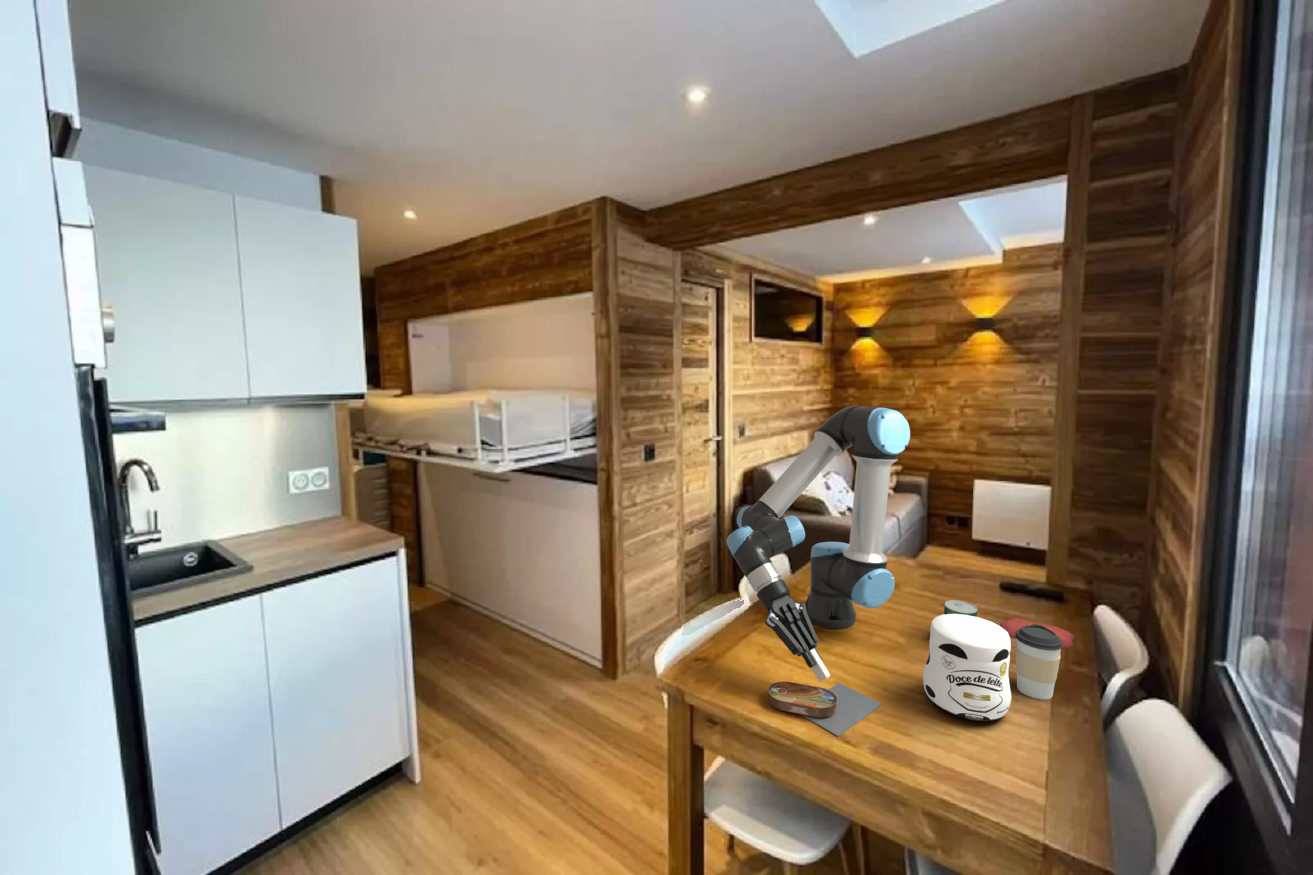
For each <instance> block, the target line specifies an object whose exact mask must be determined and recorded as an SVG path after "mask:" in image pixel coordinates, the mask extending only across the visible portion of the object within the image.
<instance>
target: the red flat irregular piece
mask: <svg viewBox="0 0 1313 875" xmlns="http://www.w3.org/2000/svg"><path fill="white" fill-rule="evenodd" d="M1032 624H1037V625H1042V626H1044V627H1046V628H1047V629H1049V630H1051V631H1053V632H1055V633H1056V634H1057V636H1058V637H1059V638H1060V639H1061V640H1062V645H1063V647H1062V648H1061V649H1070V648H1072V647H1073V646H1074V643H1073V640H1075V635H1074V634H1073V633H1071V632H1070V631H1069V630H1066V629H1063V628H1061V627H1058V626H1056V625H1050V624H1046V623H1043V622H1037V621H1036V622H1034V621H1029V620H1026V619H1023V618H1020V617H1010V618H1008V619H1007V620H1005V621H1003V622H1001V623H1000V625H999V626H1000V627H1002V628H1003V629H1004V630H1005V631H1007V632H1008V635H1009V637H1010V639H1016V637H1015V635H1016V631H1017V630H1018V629H1021V628H1022V627H1023V626H1028V625H1032Z"/></svg>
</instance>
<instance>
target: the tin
mask: <svg viewBox="0 0 1313 875" xmlns="http://www.w3.org/2000/svg"><path fill="white" fill-rule="evenodd" d="M767 690H768V702H769V703H770V705H771V706H772V707H774V708H775V709H777V710H779V711H782V712H786V713H792V714H796V715H800V714H801V715H800V716H802V715H806V716H811V717H816V718H825V717H829V716H832V715H833V714H834V713H835V711H836V707H837V706H836V702H837V697H836V696H835V694H834V693H833V692H831V691H830V690H828V689H827V688H824V687H820V686H815V685H814V686H813V685H810V684H809V685H808V684H804V683H803V684H802V683H797V682H791V681H777V682H775V683H772V684H770V685H769V687H768V689H767Z"/></svg>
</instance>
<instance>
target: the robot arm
mask: <svg viewBox="0 0 1313 875" xmlns="http://www.w3.org/2000/svg"><path fill="white" fill-rule="evenodd" d="M909 425H910V424H909V422H908V420H907V419H906V418H905V417H904V415H903V414H902V413H901V412H899V411H897V410H895V409H891V408H887V407H877V406H876V407H873V406H863V405H851V406H847V407H844V408H842V409H841V410H839V411H837V412H836V413H835V414H833V415H832V416H830V417H829V418H828V419H827V420H826V421H825V422H824V423H822V424H821V426H819V428H817V430H816V431H815V432H814V433H813V437H814V438H813V440H812V441H811V442H810V443H809V444H808V445H807V446H806V447H805V448H804V449H803V451H802V452H801V453H800V454H799V455H798V456H797V457H796V458H795V460H794V461H793V462H792V463H791V464H790V465H789V466H788V467H787V468H786V469H785V470H784V471H783V473H781V475H780V476H779V477H778V478H777V479H776V481H774V483H773V484H772V485H771V486H769V488H768V489H767V490H766V491H765V492H764V493H763V494H762V496H761V497H760V498H759V499H758V500H757V501H756V502H755V503H754V504H753V506H752V505H746V506H743V507H742V508H741V509H740V510H739V511H738V513H737V516H736V524H737V527H739V528H736V530H733V531H732V532H731V533H730V534H729V535H728V537H727V538H726V544H727V546H728V549H729V551H730V553H731V555H732V557H733V558H734V559H735V561H736V563H737V565H738V566H739V567H740V569H741V571H742V572H743V574H744V575H745V578H746V579H747V581H748V584H749V585H750V587H751V588H752V589H753V591H754V592H756V597H757V598H758V600H759V602H760V604H761V605H762V607H763V608H766V609H767V610H766V611H767V614H768V618H767V619H766V620H765V621H764V624H765V625H766V626H768V627H769V628H770V629H772V631H773V632H774V633H775V635H776V636H777V637H778V638H779V639H780V640H781V641H782V643H783V644H784V645H785V646H786V647H787V649H788V650H789V651H790V653H791V654H792V655H794V656H796V655H797V657H801V656H802V658H803V660H804V661H805V663H806V665H807V667H809V669H811V671H812V672H813V673H814V675H815V677H816V679H817V681H818V682H819V683H820V682H823V681H824V680H825V679H827V678H830V677H831V674H830V671H829V670H828V668H827V667H826V665H825V663H824V660H823V657H822V656H821V654H820V653H819V651H818V649H817V647H818V643H819V642H820V640H819V637H818V636H817V633H816V631H815V629H814V626H813V625H815V626H818V627H820V628H826V629H835V630H837V629H846V628H847V629H848V628H850V627H852V626H854V625H855V624H856V623H857V613H856V612H857V611H856V610H855V607H854V604H856V605H860V606H861V607H864V608H867V609H876V608H879V607H881V606H883V605H884V604H885V603H886V602H887V601H888V600H889V599H890V598H891V597H892V595H893V592H894V590H895V584H896V583H895V582H896V581H895V577H894V576H893V574H892V572H891V571H889V570H888V557H887V556H886V554H885V553H884V552H883V549H884V548H883V546H884V538H885V527H886V518H887V517H886V516H887V509H888V508H887V507H888V497H889V487H890V480H891V479H890V478H891V477H890V476H891V467H892V465H893V464H894V463H896V462H897V461H898V460H899V454H900V453H902V452H904V451H905V449H906V447H907V446H908V445H909V442H910V440H911V430H910V429H911V428H910V426H909ZM851 447H852V448H851ZM849 448H851V449H852V451H851V457H852V458H853V459H854V460H855V461H856V468H855V469H856V470H855V482H854V490H853V492H854V493H853V500H852V501H853V502H852V514H851V523H850V534H849V543H846V542H841V541H825V542H818V543H815V544H813V546H812V547H811V552H810V577H809V578H810V579H809V580H810V588H809V593H808V596H807V598H806V600H805V603H804V602H802V603H798V602H797V603H796V601H795V599H793V598H792V596H791V595H790V593H791V591H790V588H789V587H788V585H787V584H786V582H785V581H784V579H782V578H781V577H782V576H781V574H780V572H779V571H778V569H777V567H776V566H775V564H774V563H773V561H772V560H771V558H773V557H774V556H777V555H779V554H781V553H783V552H786V551H788V550H790V549H793V548H795V546H797V545H799V544H800V543H802V542H804V540H805V539H806V531H805V528H804V525H803V524H802V522H801V520H799V518H798V517H797V516H794V515H788V516H783V515H784V513H785V512H787V510H788V509H789V508H790V507H791V505H792V504H793V503H794V502H796V500H797V499H798V498H799V497H800V495H801V494H802V493H803V492H804V491H805V490H806V489H807V488H808V487H809V485H811V483H812V482H813V481H814V480H815V478H817V477H818V476H819V474H820V473H821V472H822V471H824V469H825V467H826V466H828V464H829V463H830V462H831V461H832V460H833V458H834V459H835V457H837V456H838V457H839V456H841V455H843V453H845V451H846V450H848V449H849ZM782 516H783V518H781V517H782ZM780 518H781V519H780Z"/></svg>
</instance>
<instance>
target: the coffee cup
mask: <svg viewBox="0 0 1313 875" xmlns="http://www.w3.org/2000/svg"><path fill="white" fill-rule="evenodd" d="M1015 637H1016V644H1015V671H1016V688H1017V690H1018V691H1019V692H1020V693H1022V694H1024V695H1026V696H1027V697H1030V698H1033V699H1036V700H1050V699H1052V698H1053V695H1054V690H1055V684H1056V681H1057V678H1058V673H1059V666H1060V662H1061V651H1062V649H1063V648H1062V647H1063V645H1062V640H1061V639H1060V638H1059V637H1058V636H1057V634H1056V633H1055V632H1053V631H1051V630H1049V629H1047V628H1046V627H1044V626H1042V625H1037V624H1032V625H1028V626H1023V627H1022V628H1021V629H1018V630H1017V631H1016V635H1015Z"/></svg>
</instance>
